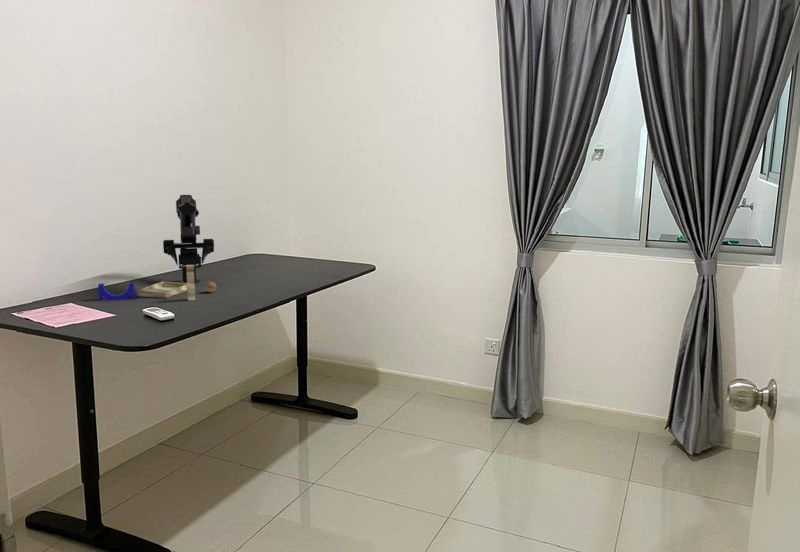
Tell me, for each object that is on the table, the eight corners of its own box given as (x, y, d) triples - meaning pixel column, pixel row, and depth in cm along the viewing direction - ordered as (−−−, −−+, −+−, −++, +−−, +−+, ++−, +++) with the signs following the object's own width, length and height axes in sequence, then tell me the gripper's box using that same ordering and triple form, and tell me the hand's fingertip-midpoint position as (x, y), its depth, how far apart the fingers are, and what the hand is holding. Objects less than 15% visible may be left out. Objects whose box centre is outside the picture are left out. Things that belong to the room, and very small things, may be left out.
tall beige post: (187, 298, 243) (186, 265, 240) (195, 298, 243) (193, 264, 241) (187, 300, 240) (186, 266, 238) (195, 300, 241) (193, 266, 238)
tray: (162, 286, 262) (162, 281, 262) (191, 288, 260) (191, 283, 259) (136, 296, 245) (136, 290, 245) (167, 298, 243) (166, 292, 242)
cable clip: (135, 296, 245) (134, 281, 244) (134, 299, 241) (133, 283, 240) (101, 298, 242) (99, 282, 240) (99, 301, 237) (98, 285, 236)
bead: (208, 290, 257) (207, 280, 256) (218, 291, 256) (218, 280, 255) (202, 293, 252) (202, 282, 251) (213, 293, 251) (212, 282, 251)
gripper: (161, 219, 244) (162, 251, 236) (212, 218, 250) (215, 250, 242) (163, 236, 253) (164, 269, 245) (212, 235, 259) (215, 267, 251)
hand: (189, 263), depth 245 cm, fingers open, 9 cm apart
